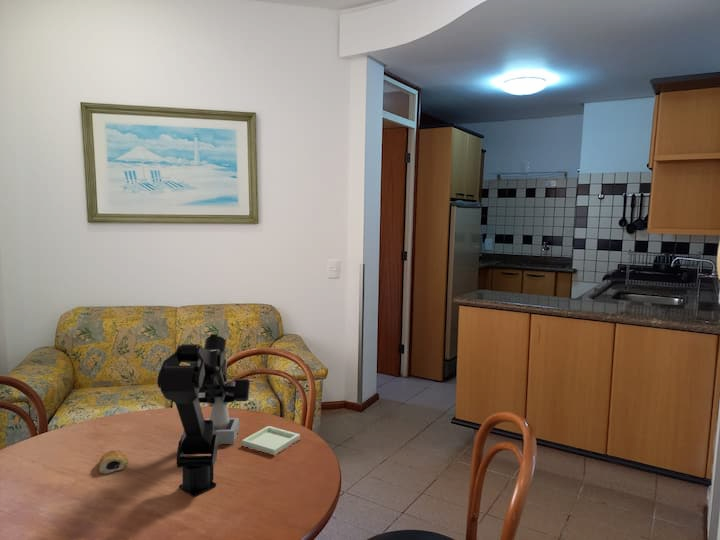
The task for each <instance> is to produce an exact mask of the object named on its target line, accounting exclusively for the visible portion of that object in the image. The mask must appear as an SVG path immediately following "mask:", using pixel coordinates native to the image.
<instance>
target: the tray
mask: <svg viewBox="0 0 720 540" xmlns="http://www.w3.org/2000/svg"><path fill="white" fill-rule="evenodd" d="M299 439H300V440H301V434H300V433H297V432H292V431H289V430H285V429H283V428H282V429H281V428H278V427H275V426H270V425H267V426H266V427H264V428H262V429H259V430H258V431H256V432H254V433H253V434H251V435H249V436H247V437H245V438H243V439H241V446H242V445H243V446H246V447H249V448H253V449H257V450H260V451H264V452H267V453H271V454H274V455H275V454H277V453H278V452H280V451H281V450H283V449H284V448H286V447H288V446H289V445H291V444H292V443H294V442H295V441H297V440H299ZM249 448H248V449H249Z"/></svg>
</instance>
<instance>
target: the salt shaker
mask: <svg viewBox="0 0 720 540" xmlns="http://www.w3.org/2000/svg"><path fill="white" fill-rule="evenodd" d="M224 397H225V395H223V397H214V403H213V405H212V407H211V411H210V417H209V418H210V420H212V421H213V425H214V427H215V429H214V430H224V429H226V428H227V426H228V424H229V418H230V415H229V410H228V409H229V407H228V404H224Z"/></svg>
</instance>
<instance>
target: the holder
mask: <svg viewBox="0 0 720 540" xmlns="http://www.w3.org/2000/svg"><path fill="white" fill-rule="evenodd" d="M205 420H210V417H208V418H205ZM238 431H239V432H240V417H229V424H228V426H227V428H226V429H224V430H215V433H216V434H217V435H218V444H230V445H234V444H235V443H236V440H237V437H238V435H237V433H238V434H239V432H238ZM236 436H237V437H236ZM235 439H236V440H235ZM234 442H235V443H234ZM233 443H234V444H233Z"/></svg>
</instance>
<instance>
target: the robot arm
mask: <svg viewBox="0 0 720 540" xmlns="http://www.w3.org/2000/svg"><path fill="white" fill-rule="evenodd" d="M226 345H227V340H226V339H225V338H224V337H222V336H218V333H217V334H215V333H214V334H213V333H212V334H210V335H209V336H208V337H206V338H205V341H204V346H203V345H200V344H197V343H188V344H186V343H182V344H181V345H178V346H177V348H176V351H175V352H174V353H173V354H171V355H169V356H168V357H167V358H166V359H165V360H164V361H163V362H162V366H161V368H160V370H159V372H158V376H157V386H158V389H160V392H161V394H162V395H163V397H164V398H165V399H167V400H168V401H171V402H173V403H174V404H175V406H176V410H177V413H178V415H179V418H180V421H181V425H182V428H183V433H182V435H181V437H180V440H179V441H178V446H177V453H176V467H177V468H182V483H181V484H179V485H178V489H180V490H181V491H183V492H185V493H186V494H189V496H192V497H196V496H199V495H201V494H203V493H205V492H207V491H209V490H210V489H213V488H214V487H216V486H217V483H216V482H215V481H214V466H215V463H216V460H217V457H218V435H217V434H216V433H215V430H214V429H215V427H214V425H213V421H212V420H206V419H205V417H204V415H203V411H202V407H201V403H202V404H209V405H212V406H213V403H214V397H223V395H225V397H224V404H227V405H228V404H230V403H234V402H247V401H249V397H250V390H251V389H250V388H251V387H250V386H251V382H250V379H249V378H235V381H228V376H227V371H228V361H227V359H226ZM181 363H186V364H189V365H181Z"/></svg>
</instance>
